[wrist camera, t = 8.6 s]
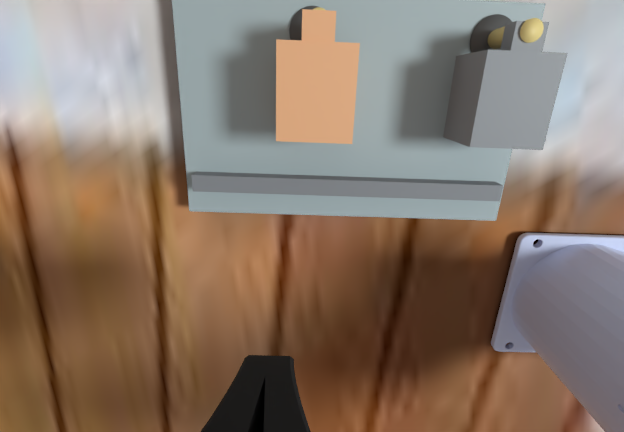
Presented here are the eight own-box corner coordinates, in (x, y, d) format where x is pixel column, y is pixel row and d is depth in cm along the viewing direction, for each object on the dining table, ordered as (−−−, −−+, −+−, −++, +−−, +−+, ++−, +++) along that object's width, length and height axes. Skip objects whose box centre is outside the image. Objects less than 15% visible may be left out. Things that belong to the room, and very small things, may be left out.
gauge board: (529, 9, 17) (598, -16, 13) (485, 212, 20) (529, 244, 16) (179, -7, 16) (138, -37, 12) (196, 203, 20) (168, 233, 16)
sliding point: (352, 22, 15) (362, 8, 12) (344, 134, 17) (352, 144, 14) (281, 19, 15) (276, 4, 12) (280, 131, 17) (275, 141, 14)
